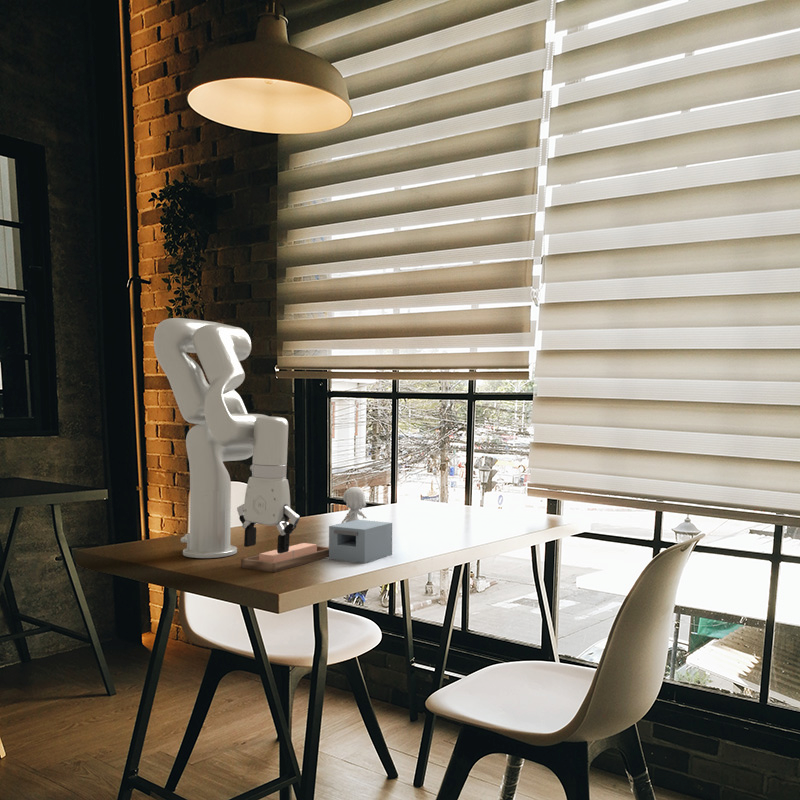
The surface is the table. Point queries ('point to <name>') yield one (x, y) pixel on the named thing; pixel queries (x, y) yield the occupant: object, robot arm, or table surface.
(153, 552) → the table surface
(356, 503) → the figurine
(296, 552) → the pink rectangular bar
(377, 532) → the dispenser
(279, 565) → the tray
